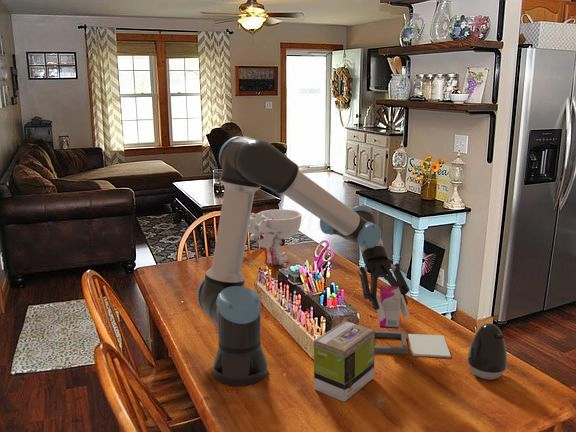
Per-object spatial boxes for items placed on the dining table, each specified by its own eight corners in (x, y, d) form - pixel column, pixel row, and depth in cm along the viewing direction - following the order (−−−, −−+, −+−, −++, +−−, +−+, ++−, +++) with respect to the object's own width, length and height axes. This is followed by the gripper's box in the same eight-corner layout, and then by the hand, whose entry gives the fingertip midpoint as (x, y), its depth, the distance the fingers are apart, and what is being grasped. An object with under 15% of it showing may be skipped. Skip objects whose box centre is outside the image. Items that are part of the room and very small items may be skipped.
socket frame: (407, 354, 159) (408, 349, 158) (369, 352, 160) (369, 347, 159) (404, 336, 170) (404, 332, 169) (368, 334, 171) (368, 330, 170)
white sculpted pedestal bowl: (285, 254, 251) (285, 207, 245) (309, 265, 235) (310, 215, 230) (239, 264, 237) (238, 214, 231) (261, 276, 222) (260, 223, 216)
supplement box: (396, 320, 166) (399, 286, 163) (398, 329, 160) (401, 293, 157) (378, 319, 166) (380, 285, 164) (379, 328, 161) (381, 292, 158)
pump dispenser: (481, 387, 141) (486, 335, 137) (459, 367, 151) (463, 318, 147) (514, 381, 144) (519, 330, 140) (490, 363, 154) (495, 314, 150)
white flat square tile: (450, 357, 156) (450, 355, 156) (412, 355, 158) (412, 353, 157) (443, 337, 169) (443, 335, 169) (408, 335, 170) (408, 333, 170)
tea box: (344, 366, 152) (345, 319, 148) (374, 378, 146) (376, 329, 142) (312, 389, 140) (313, 338, 137) (344, 403, 134) (345, 350, 131)
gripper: (395, 253, 176) (418, 318, 165) (339, 258, 170) (359, 326, 159) (405, 242, 170) (429, 308, 159) (347, 247, 164) (368, 317, 153)
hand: (394, 317), depth 159 cm, fingers closed on supplement box, 7 cm apart
